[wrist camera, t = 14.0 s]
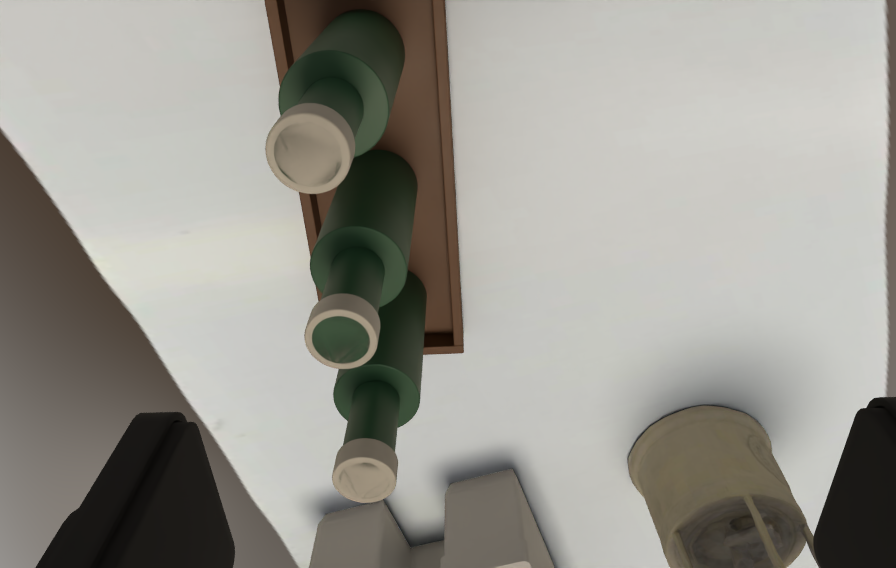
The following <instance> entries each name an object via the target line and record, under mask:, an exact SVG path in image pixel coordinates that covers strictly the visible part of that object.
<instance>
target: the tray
mask: <svg viewBox="0 0 896 568" xmlns="http://www.w3.org/2000/svg"><path fill="white" fill-rule="evenodd" d="M265 6H266V11H267V17H268V22H269V28H270V34H271V39H272V45H273V50H274V56H275V61H276V67H277V72H278V78H279V84H280V86H281V83H282V80H283V78H284V76H285V74H286V72H287V71H288V70H289V68H290V67H291V66H292V65H293V64H294V63H295V62H296V60H297V59H298V58H299V57H300V56H301V55H302V54H303V53H304V52H305V50H306V49H307V48H308V47H309V46H310V45H311V44H312V43H313V42H314V40H315V39H316V38H317V37H318V36H319V35H320V34H321V33H322V32H323V30H324V29H325V28H326V27H327V26H328V25H329V24H330V23H331V22H332V21H333V20H334V19H335V18H336V17H337V16H339V15H340V14H342V13H344V12H347V11H350V10H355V9H366V10H371V11H374V12H377V13H379V14H381V15H382V16H384V17H385V18H387V19H388V20H389V21H390V22H391V23H392V24H393V25H394V26H395V27H396V29H397V30H398V32H399V34H400V36H401V38H402V41H403V44H404V48H405V62H404V67H403V71H402V74H401V78H400V81H399V85H398V88H397V92H396V95H395V99H394V102H393V106H392V110H391V113H390V117H389V120H388V124H387V127H386V129H385V132H384V134H383V136H382V137H381V139H380V140H379V141H378V142H377V144H376V145H375V146H374V147H373V148H371V149H370V150H386V151H390V152H393V153H395V154H397V155H399V156H400V157H402V158H403V159H404V160H405V161H406V162H407V163H408V164H409V165H410V166H411V168H412V169H413V171H414V173H415V176H416V179H417V185H418V189H417V198H416V207H415V215H414V223H413V231H412V239H411V247H410V256H409V264H408V271H410V272H412V273H413V274H415V275H416V276H417V277H418V278H419V279H420V280H421V282H422V283H423V285H424V287H425V289H426V293H427V304H426V318H425V333H424V348H423V355H428V354H452V353H463V352H464V344H463V319H462V301H461V283H460V265H459V246H458V228H457V210H456V192H455V173H454V155H453V137H452V118H451V100H450V82H449V64H448V45H447V27H446V9H445V0H265ZM337 187H338V186H337ZM337 187H335V188H334V189H332V190H330V191H327V192H324V193H319V194H306V193H301V192H299V195H300V201H301V206H302V212H303V217H304V223H305V228H306V234H307V240H308V245H309V251H310V256H311V255H312V251H313V249H314V246H315V244H316V241H317V239H318V236H319V233H320V231H321V228H322V226H323V223H324V221H325V218H326V215H327V213H328V210H329V208H330V205H331V203H332V200H333V197H334V195H335V192H336V190H337ZM316 290H317V295H318V301H320V300H321V297H322V293H321V292H320V291H319V289H318V288H317V286H316Z"/></svg>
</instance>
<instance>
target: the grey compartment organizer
mask: <svg viewBox="0 0 896 568" xmlns="http://www.w3.org/2000/svg"><path fill="white" fill-rule="evenodd" d="M309 568H554V565H553V563H552V560H551V558H550V556H549V553H548V551H547V548H546V546H545V544H544V541H543V539H542V536H541V534H540V532H539V529H538V527H537V524H536V522H535V520H534V517H533V515H532V513H531V510H530V508H529V505H528V503H527V501H526V498H525V496H524V493H523V491H522V489H521V486H520V484H519V482H518V479H517V477H516V475H515V473H514V471H513V469H509V470H504V471H500V472H496V473H492V474H488V475H484V476H480V477H476V478H472V479H468V480H463V481H459V482H455V483H451V484H450V486H449V488H448V490H447V492H446V494H445V528H444V540H442V541H437V542H433V543H429V544H424V545H420V546H415V547H411V548H410V546H409V545H408V543H407V541H406V539H405V537H404V536H403V534H402V532H401V530H400V529H399V527H398V525H397V523H396V522H395V520H394V518H393V516H392V515H391V513H390V511H389V509H388V508H387V506H386V504H385V502H384V501H383V500H381V501H377V502H373V503H369V504H365V505H361V506H357V507H353V508H349V509H344V510H340V511H336V512H332V513H328V514H326V515H325V516H324V517H323V519H322V520H321V521H320V523H319V524H318V528H317V533H316V537H315V542H314V547H313V551H312V556H311V561H310V565H309Z"/></svg>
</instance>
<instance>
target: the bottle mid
mask: <svg viewBox="0 0 896 568" xmlns="http://www.w3.org/2000/svg"><path fill="white" fill-rule="evenodd" d="M417 189H418V185H417V179H416V176H415V173H414V171H413V169H412V168H411V166H410V165H409V164H408V163H407V162H406V161H405V160H404V159H403V158H402V157H400V156H399V155H397V154H395V153H393V152H390V151H386V150H369V151H367V152H366V153H364V154H362V155H360V156H358V157H355V158H353V161H352V163H351V166H350V169H349V171H348V173H347V175H346V177H345V179H344V180H343V181H342V182H341V183H340V184H339V185H338V187H337V190H336V192H335V195H334V197H333V200H332V203H331V205H330V208H329V210H328V213H327V215H326V218H325V221H324V223H323V226H322V228H321V231H320V233H319V236H318V239H317V241H316V244H315V246H314V249H313V251H312V255H311V259H310V270H311V275H312V278H313V281H314V283H315V285H316V286H317V288H318V289H319V291H320V292H321V293H322V297H321V300H320V301H319V302H318V303H317V304H316V305H315V306H314V308H313V309H312V312H311V314H310V317H309V320H308V323H307V326H306V329H305V335H304V336H305V343H306V346H307V348H308V350H309V352H310V353H311V355H312V356H313V357H314V358H315V359H317V360H318V361H319V362H321V363H322V364H324V365H327V366H329V367H333V368H337V369H351V368H355V367H358V366H361V365H363V364H364V363H366V362H367V361H369V360H370V359H371V358H372V356H373V355H374V353H375V351H376V349H377V345H378V339H379V333H380V319H379V316H378V310H379V307H382V306H384V305H386V304H388V303H389V302H391V301H392V300H393V299H395V298H396V297H397V296H398V295H399V293H400V292H401V290H402V289H403V287H404V285H405V282H406V278H407V272H408V264H409V256H410V247H411V239H412V231H413V223H414V215H415V207H416V198H417Z"/></svg>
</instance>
